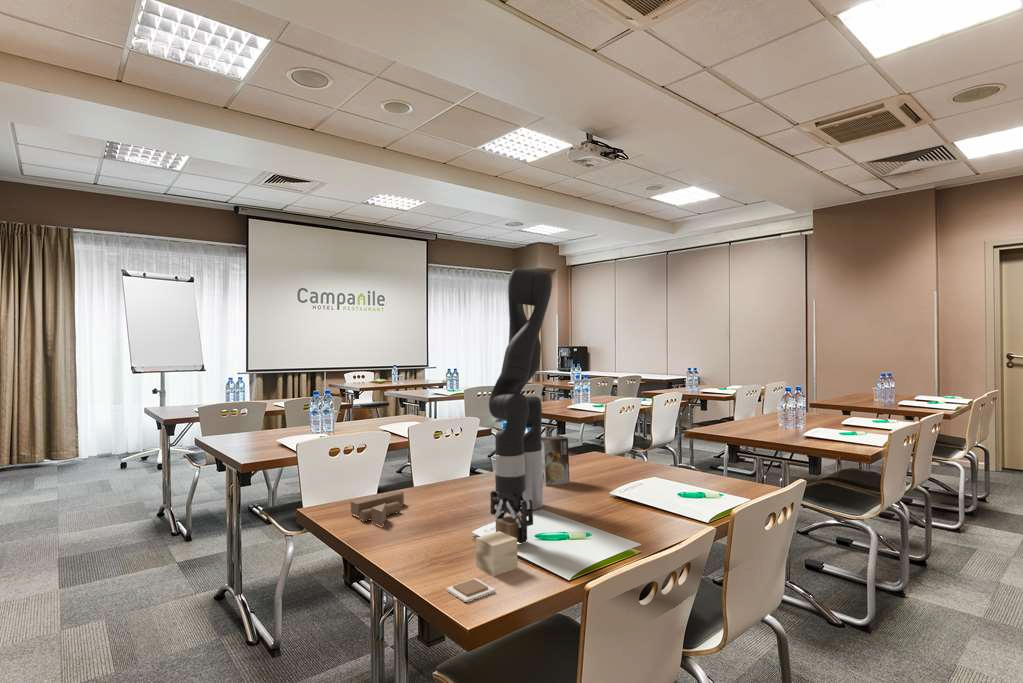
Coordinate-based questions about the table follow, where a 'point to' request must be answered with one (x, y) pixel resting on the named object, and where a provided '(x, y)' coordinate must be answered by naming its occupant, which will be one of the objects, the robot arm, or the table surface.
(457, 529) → the table surface
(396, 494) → the wooden block set
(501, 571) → the beech cube
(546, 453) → the coffee box
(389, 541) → the table surface
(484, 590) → the walnut tile
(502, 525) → the walnut cube
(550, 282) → the robot arm
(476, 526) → the table surface
